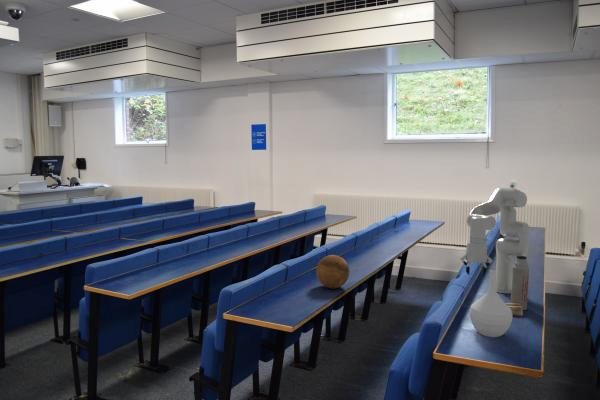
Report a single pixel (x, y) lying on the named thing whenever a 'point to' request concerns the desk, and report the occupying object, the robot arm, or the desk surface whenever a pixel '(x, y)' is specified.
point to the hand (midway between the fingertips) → (475, 274)
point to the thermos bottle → (520, 282)
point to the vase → (491, 312)
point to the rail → (515, 308)
